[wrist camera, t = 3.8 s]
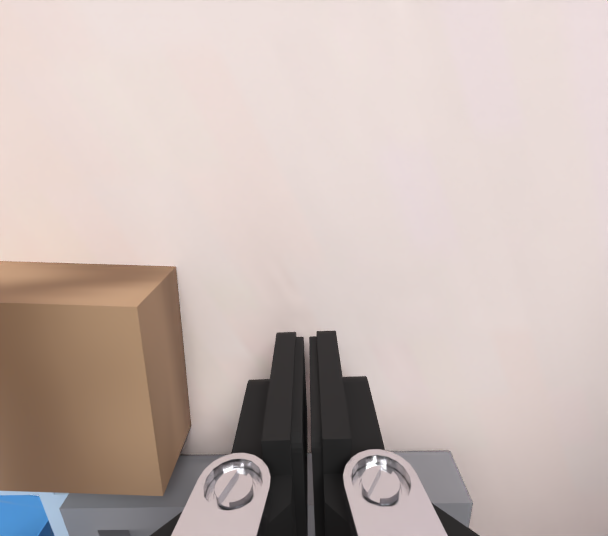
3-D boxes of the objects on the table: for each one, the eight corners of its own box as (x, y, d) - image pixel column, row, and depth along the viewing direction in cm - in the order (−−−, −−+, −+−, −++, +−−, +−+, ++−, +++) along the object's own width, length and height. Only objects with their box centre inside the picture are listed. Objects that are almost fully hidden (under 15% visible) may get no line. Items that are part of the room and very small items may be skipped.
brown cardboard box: (178, 263, 12) (136, 307, 9) (193, 419, 14) (163, 495, 11) (-18, 257, 12) (-123, 298, 9) (27, 414, 14) (-47, 489, 11)
